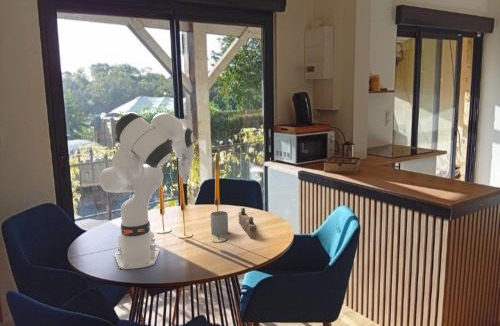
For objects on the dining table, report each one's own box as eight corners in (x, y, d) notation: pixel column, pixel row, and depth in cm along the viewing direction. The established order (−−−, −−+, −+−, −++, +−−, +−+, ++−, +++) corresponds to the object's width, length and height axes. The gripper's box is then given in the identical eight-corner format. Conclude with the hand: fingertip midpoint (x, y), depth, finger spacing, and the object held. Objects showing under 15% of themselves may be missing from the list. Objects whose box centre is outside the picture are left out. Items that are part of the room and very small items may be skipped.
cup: (231, 232, 199) (231, 212, 197) (221, 237, 192) (220, 217, 190) (218, 229, 203) (217, 210, 201) (207, 234, 197) (207, 214, 195)
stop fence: (256, 237, 190) (256, 219, 188) (250, 238, 189) (250, 220, 188) (244, 222, 213) (244, 206, 211) (238, 223, 212) (238, 206, 210)
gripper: (188, 156, 180) (190, 186, 182) (193, 149, 200) (194, 176, 202) (174, 156, 180) (176, 186, 182) (180, 150, 200) (182, 177, 202)
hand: (186, 181), depth 192 cm, fingers open, 8 cm apart
